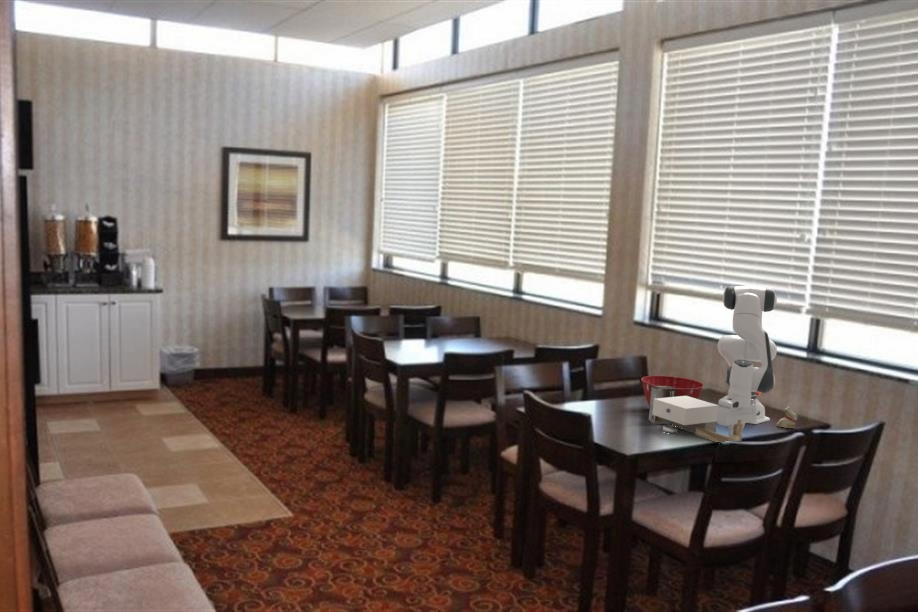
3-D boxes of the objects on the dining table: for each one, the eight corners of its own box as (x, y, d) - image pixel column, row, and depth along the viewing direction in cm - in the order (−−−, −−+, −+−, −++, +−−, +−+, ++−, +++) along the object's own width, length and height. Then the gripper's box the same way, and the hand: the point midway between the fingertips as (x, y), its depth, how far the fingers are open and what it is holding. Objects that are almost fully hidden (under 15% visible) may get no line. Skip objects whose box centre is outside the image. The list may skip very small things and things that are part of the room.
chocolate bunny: (792, 430, 366) (795, 408, 365) (775, 426, 371) (777, 405, 370) (796, 428, 371) (799, 407, 369) (779, 424, 376) (781, 403, 374)
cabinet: (683, 424, 364) (686, 395, 362) (715, 435, 349) (718, 405, 347) (649, 428, 352) (652, 398, 351) (681, 439, 337) (684, 408, 336)
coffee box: (666, 420, 368) (670, 385, 367) (673, 424, 362) (676, 389, 360) (647, 420, 367) (651, 385, 365) (654, 424, 360) (657, 388, 358)
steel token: (669, 430, 352) (669, 424, 352) (680, 434, 347) (680, 428, 347) (659, 431, 349) (660, 425, 348) (670, 435, 344) (670, 429, 343)
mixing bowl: (637, 416, 372) (640, 383, 370) (639, 403, 400) (642, 372, 398) (701, 424, 366) (705, 390, 364) (698, 410, 393) (702, 379, 391)
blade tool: (698, 434, 346) (701, 406, 345) (740, 448, 328) (743, 419, 327) (693, 435, 345) (696, 407, 343) (735, 449, 327) (738, 420, 325)
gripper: (749, 397, 335) (745, 429, 337) (715, 400, 324) (712, 434, 326) (762, 400, 330) (758, 433, 332) (728, 404, 319) (724, 438, 321)
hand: (735, 434), depth 329 cm, fingers closed on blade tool, 3 cm apart
